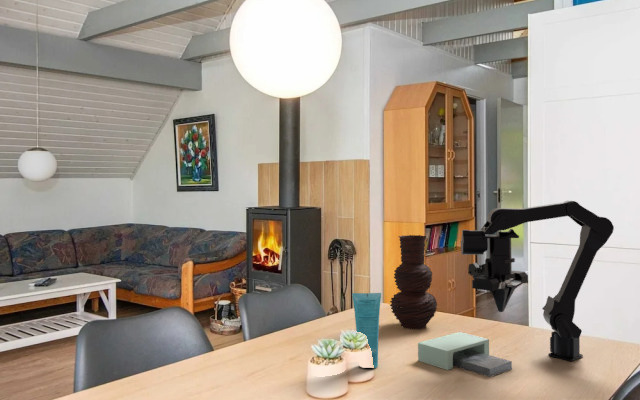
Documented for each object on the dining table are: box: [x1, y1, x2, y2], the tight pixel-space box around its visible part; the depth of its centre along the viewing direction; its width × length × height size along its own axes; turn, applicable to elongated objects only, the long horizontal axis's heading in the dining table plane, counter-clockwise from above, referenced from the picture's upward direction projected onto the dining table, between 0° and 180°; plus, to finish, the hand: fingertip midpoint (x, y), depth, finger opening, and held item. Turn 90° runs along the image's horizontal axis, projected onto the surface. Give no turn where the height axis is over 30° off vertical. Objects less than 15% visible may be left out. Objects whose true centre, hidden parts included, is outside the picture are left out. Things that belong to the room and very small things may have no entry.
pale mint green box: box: [417, 331, 490, 371], centre depth 151 cm, size 10×17×5 cm, turn 127°
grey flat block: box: [453, 349, 513, 378], centre depth 146 cm, size 18×9×2 cm, turn 37°
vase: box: [389, 234, 438, 330], centre depth 186 cm, size 15×15×30 cm
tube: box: [351, 292, 382, 369], centre depth 146 cm, size 7×5×19 cm, turn 96°
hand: (501, 311), depth 153 cm, fingers closed
